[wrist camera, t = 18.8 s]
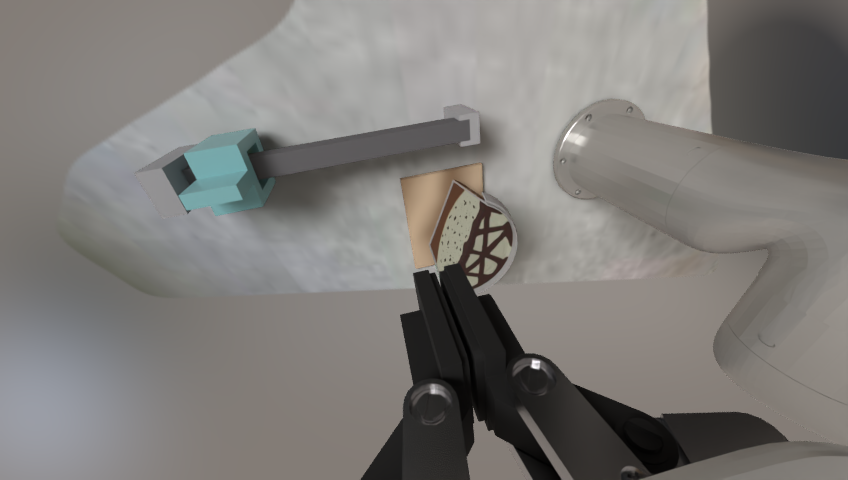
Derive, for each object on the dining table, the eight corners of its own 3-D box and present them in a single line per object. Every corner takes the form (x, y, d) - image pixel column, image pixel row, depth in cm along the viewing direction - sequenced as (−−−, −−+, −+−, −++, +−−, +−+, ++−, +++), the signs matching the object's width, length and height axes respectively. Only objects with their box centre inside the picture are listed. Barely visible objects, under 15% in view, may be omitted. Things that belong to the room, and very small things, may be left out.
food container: (465, 260, 45) (493, 308, 37) (424, 254, 43) (445, 302, 35) (500, 179, 40) (543, 213, 32) (457, 167, 38) (490, 200, 30)
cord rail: (460, 99, 35) (489, 110, 28) (462, 136, 37) (490, 154, 30) (178, 147, 31) (133, 173, 25) (198, 185, 34) (162, 218, 27)
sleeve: (255, 128, 31) (222, 156, 22) (275, 181, 34) (254, 224, 25) (211, 135, 30) (161, 166, 22) (236, 189, 33) (200, 235, 25)
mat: (480, 162, 39) (482, 163, 39) (483, 250, 46) (484, 252, 45) (400, 178, 38) (401, 180, 37) (415, 266, 45) (416, 268, 44)
